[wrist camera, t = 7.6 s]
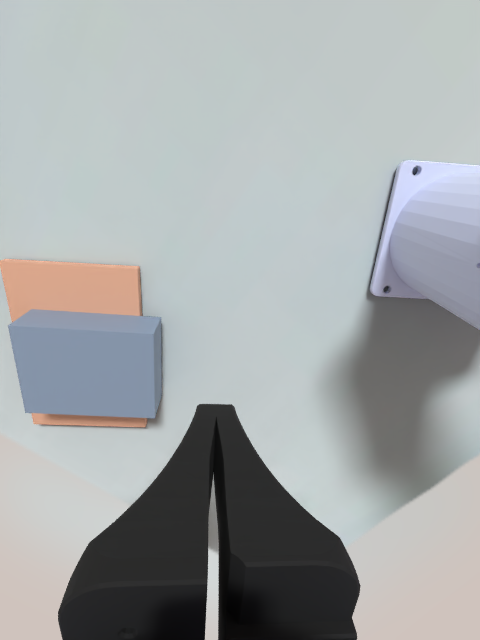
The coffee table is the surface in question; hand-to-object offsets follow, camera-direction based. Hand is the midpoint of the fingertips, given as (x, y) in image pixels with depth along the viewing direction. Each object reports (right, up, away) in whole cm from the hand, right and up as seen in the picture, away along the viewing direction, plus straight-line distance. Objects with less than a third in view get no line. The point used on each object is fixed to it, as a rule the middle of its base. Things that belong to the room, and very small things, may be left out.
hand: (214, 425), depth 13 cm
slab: (-4, +1, +9) cm, 10 cm away
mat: (-10, +2, +10) cm, 14 cm away
